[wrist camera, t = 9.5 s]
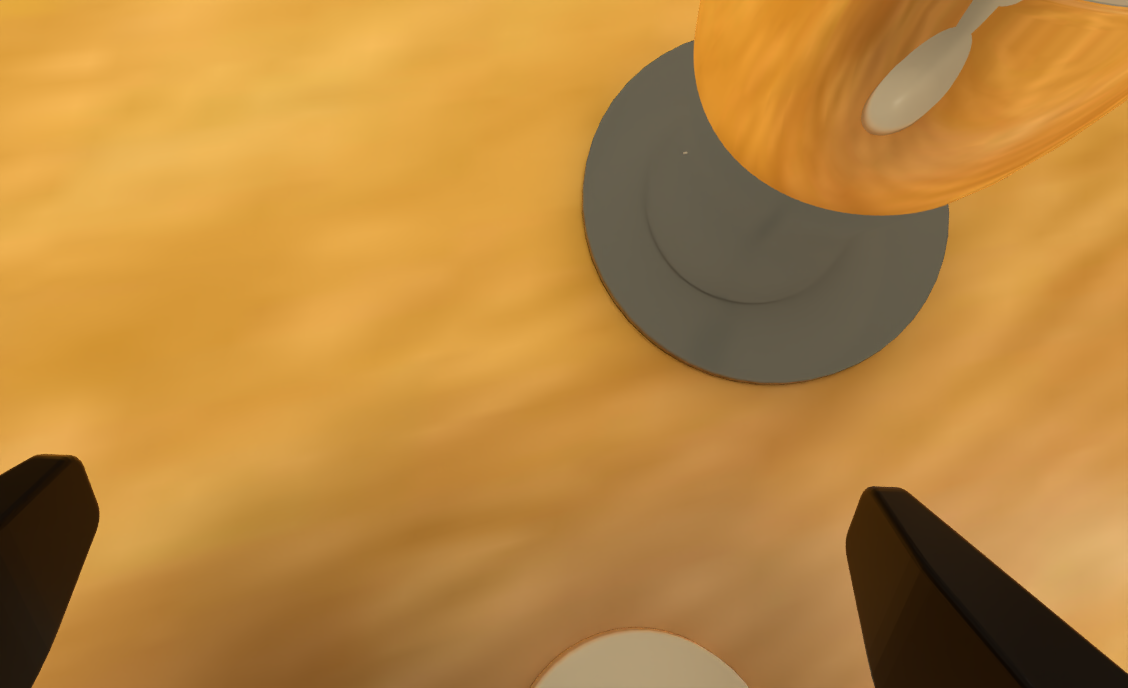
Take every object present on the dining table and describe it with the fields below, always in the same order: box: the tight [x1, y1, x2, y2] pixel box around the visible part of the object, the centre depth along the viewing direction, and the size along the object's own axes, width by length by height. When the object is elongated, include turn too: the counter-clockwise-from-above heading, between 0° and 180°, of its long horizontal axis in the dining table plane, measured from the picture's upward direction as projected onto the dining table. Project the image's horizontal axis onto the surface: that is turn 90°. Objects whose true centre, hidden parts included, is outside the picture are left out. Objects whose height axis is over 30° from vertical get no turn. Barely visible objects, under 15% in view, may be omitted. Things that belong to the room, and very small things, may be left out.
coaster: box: [582, 40, 949, 385], centre depth 24 cm, size 11×11×1 cm
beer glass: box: [646, 0, 1128, 304], centre depth 16 cm, size 7×7×15 cm
